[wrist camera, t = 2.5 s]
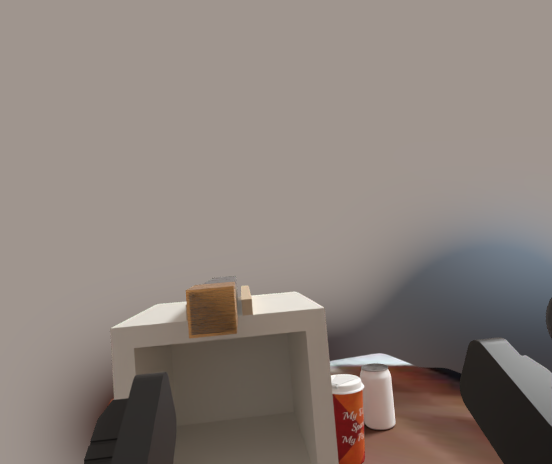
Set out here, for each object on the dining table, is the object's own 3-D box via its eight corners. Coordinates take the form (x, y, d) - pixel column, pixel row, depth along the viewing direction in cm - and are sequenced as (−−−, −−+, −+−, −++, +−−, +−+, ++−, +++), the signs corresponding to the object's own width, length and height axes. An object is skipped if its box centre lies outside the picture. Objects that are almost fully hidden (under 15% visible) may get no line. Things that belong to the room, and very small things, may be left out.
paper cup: (358, 474, 66) (350, 389, 67) (319, 462, 71) (312, 382, 72) (378, 454, 72) (370, 375, 73) (341, 444, 77) (334, 371, 78)
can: (360, 428, 83) (354, 370, 84) (370, 416, 89) (364, 362, 90) (391, 433, 80) (385, 372, 81) (399, 420, 86) (393, 364, 86)
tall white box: (315, 519, 56) (295, 281, 58) (356, 661, 36) (323, 292, 38) (171, 539, 54) (156, 293, 56) (130, 702, 34) (109, 311, 36)
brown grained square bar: (239, 300, 52) (237, 274, 52) (237, 333, 28) (233, 286, 29) (213, 302, 52) (211, 276, 52) (188, 338, 28) (185, 290, 28)
